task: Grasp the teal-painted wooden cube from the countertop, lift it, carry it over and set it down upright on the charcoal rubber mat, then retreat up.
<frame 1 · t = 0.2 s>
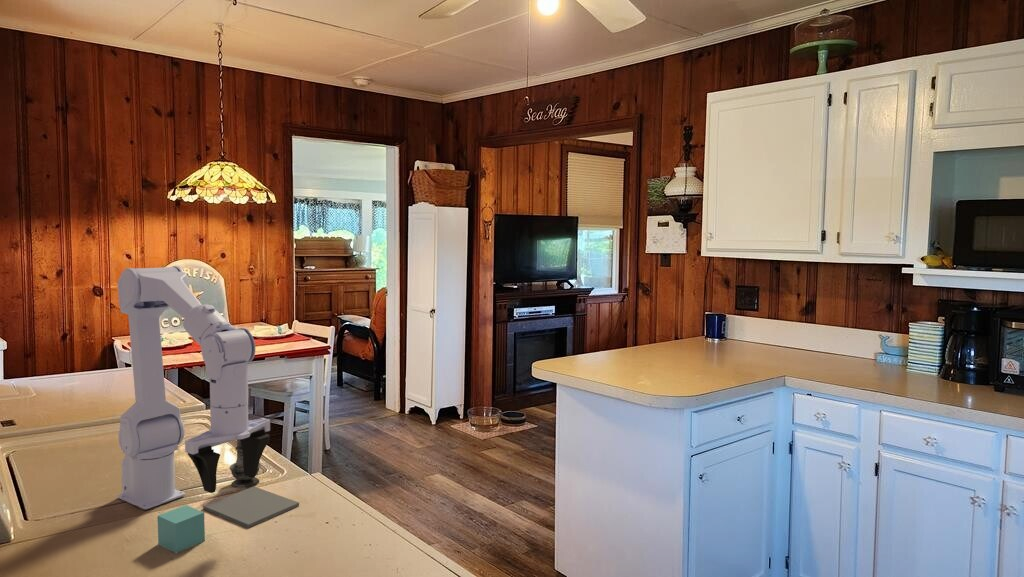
hand: (230, 483, 111), 10 cm above the countertop, fingers open, 7 cm apart
dark grey chess piece: (245, 484, 136), on the countertop
charcoal mat: (251, 507, 125), on the countertop
teal cube: (181, 543, 111), on the countertop
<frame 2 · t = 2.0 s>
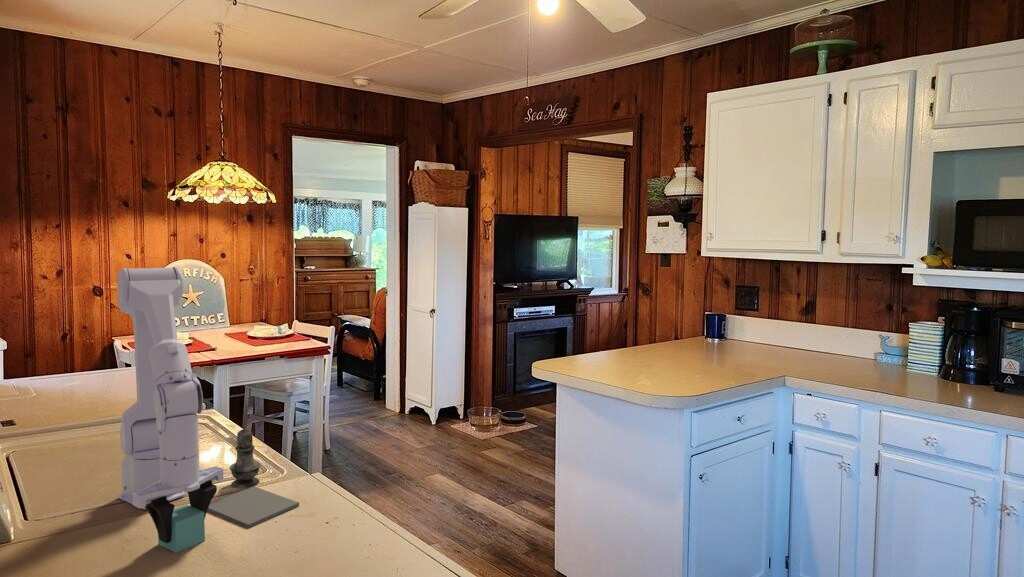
hand: (181, 534, 111), 1 cm above the countertop, fingers closed on teal cube, 5 cm apart
teal cube: (181, 542, 111), on the countertop, touching gripper
everything else where it was.
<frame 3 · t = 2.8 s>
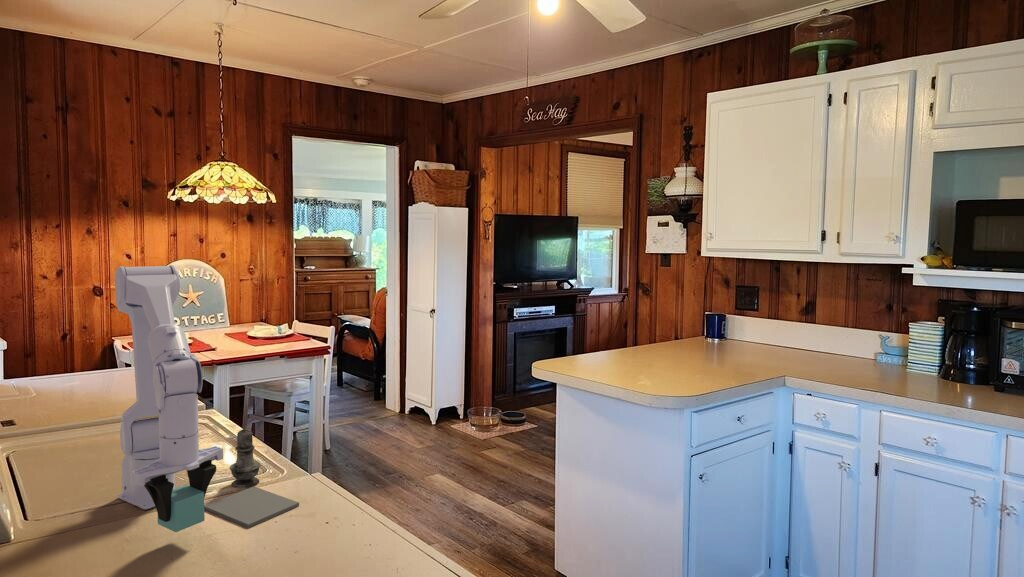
hand: (180, 513, 110), 5 cm above the countertop, fingers closed on teal cube, 5 cm apart
teal cube: (181, 522, 111), point 3 cm above the countertop, touching gripper
everything else where it was.
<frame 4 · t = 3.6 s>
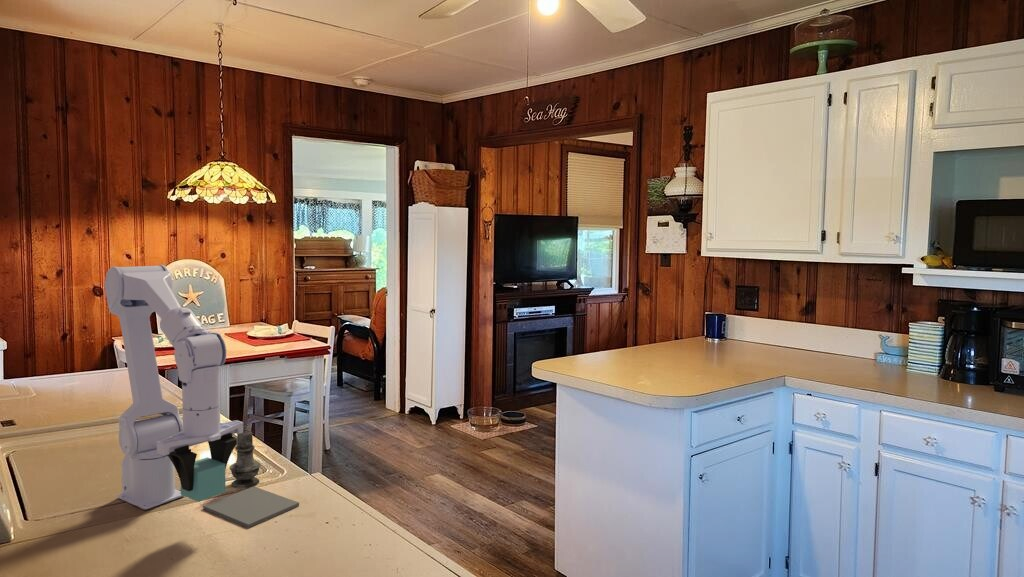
hand: (202, 484, 114), 8 cm above the countertop, fingers closed on teal cube, 5 cm apart
teal cube: (203, 493, 114), point 7 cm above the countertop, touching gripper
everything else where it was.
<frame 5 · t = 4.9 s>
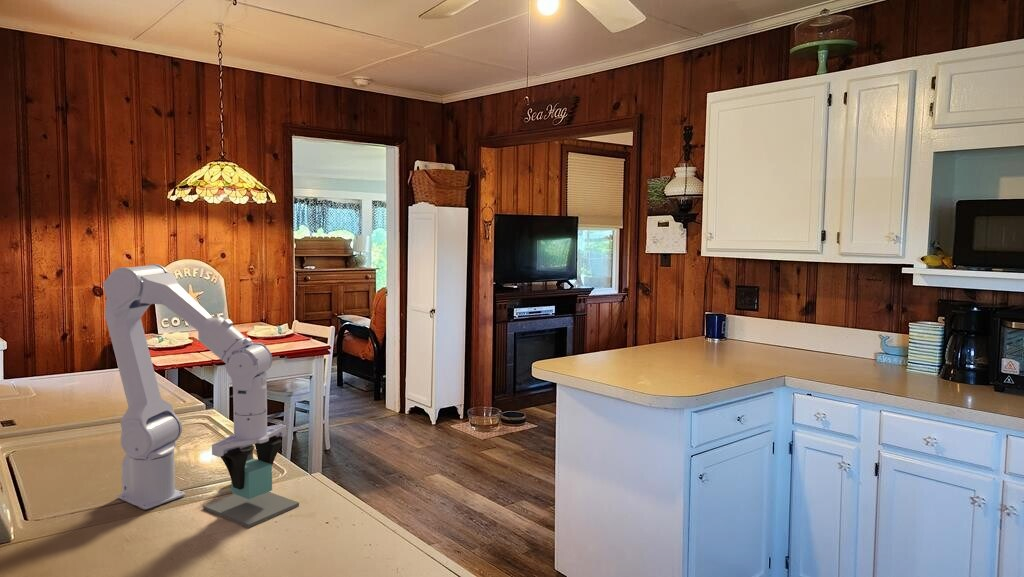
hand: (251, 482, 124), 5 cm above the countertop, fingers closed on teal cube, 5 cm apart
teal cube: (251, 491, 124), point 3 cm above the countertop, touching gripper
everything else where it was.
when the fingers open (3 cm above the countertop, at t = 5.7 s): teal cube drops 1 cm, resting on charcoal mat.
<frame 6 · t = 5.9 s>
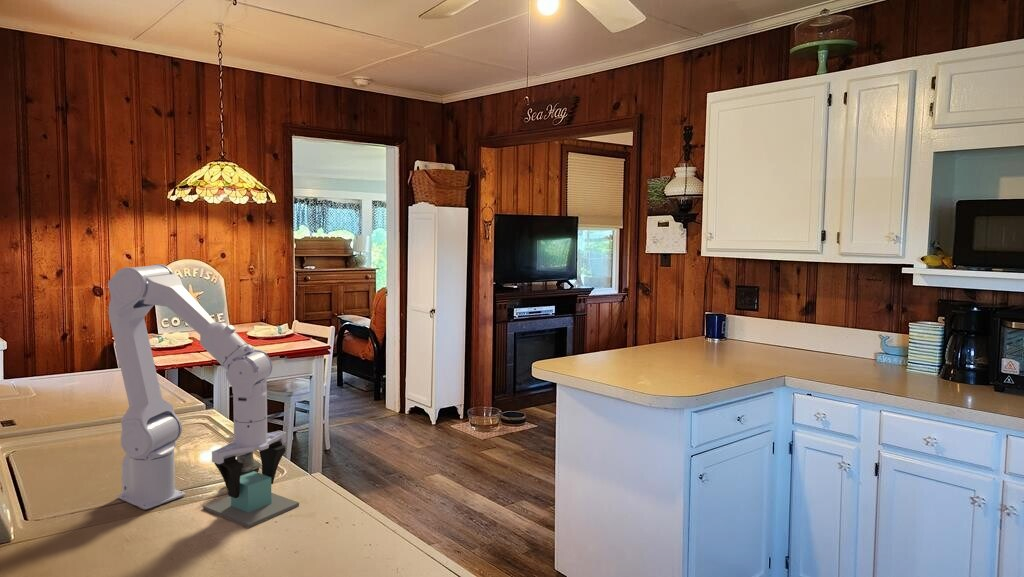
hand: (251, 489, 124), 3 cm above the countertop, fingers open, 7 cm apart
teal cube: (251, 504, 124), point 1 cm above the countertop, touching charcoal mat
everything else where it was.
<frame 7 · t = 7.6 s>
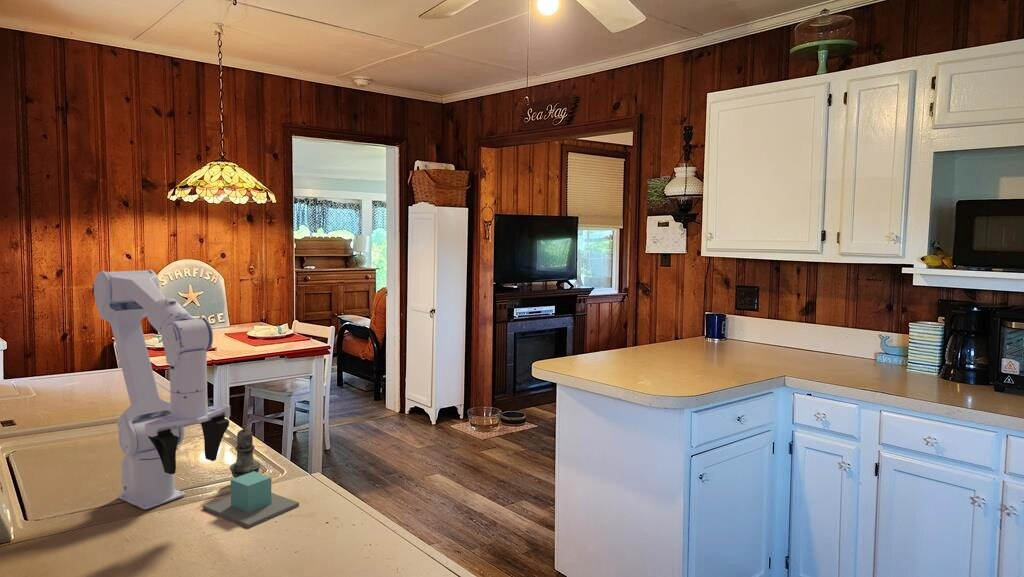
hand: (190, 466, 117), 10 cm above the countertop, fingers open, 7 cm apart
nothing on the countertop moved.
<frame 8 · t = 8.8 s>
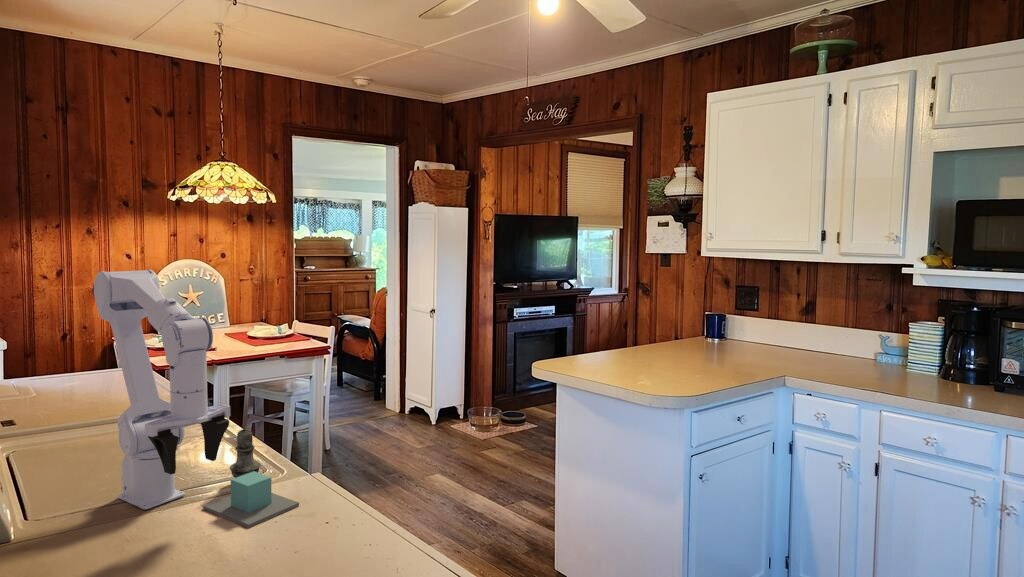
hand: (190, 466, 117), 10 cm above the countertop, fingers open, 7 cm apart
nothing on the countertop moved.
at the end: teal cube inside the target area on the charcoal mat (0.1 cm from its centre), point 0.6 cm above the charcoal mat's base; teal cube tilted 0°; the gripper is holding nothing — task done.
